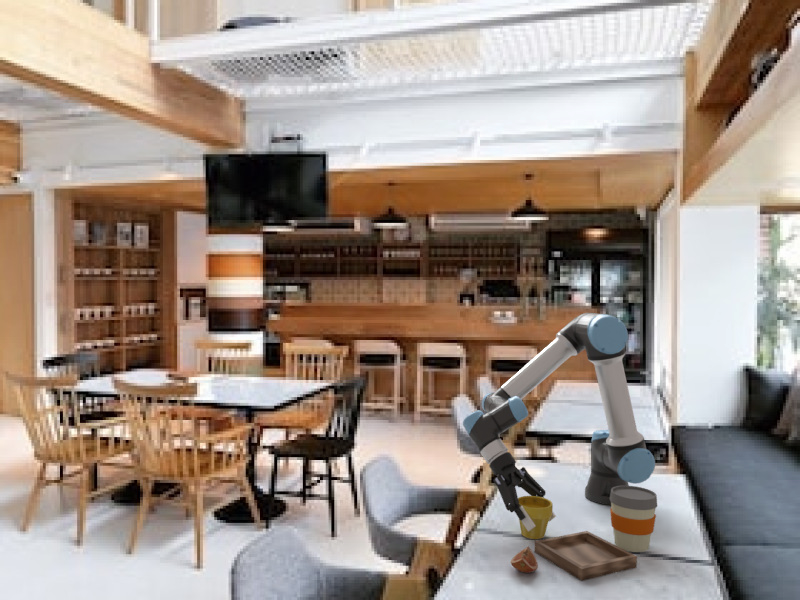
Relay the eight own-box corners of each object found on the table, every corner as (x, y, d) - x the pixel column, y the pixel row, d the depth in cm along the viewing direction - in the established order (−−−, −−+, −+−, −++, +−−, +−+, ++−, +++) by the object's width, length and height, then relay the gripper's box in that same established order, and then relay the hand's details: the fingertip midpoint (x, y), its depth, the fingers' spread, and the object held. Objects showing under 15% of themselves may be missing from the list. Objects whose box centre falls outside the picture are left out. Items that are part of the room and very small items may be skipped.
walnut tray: (586, 541, 186) (587, 530, 186) (636, 567, 169) (637, 556, 169) (534, 552, 178) (534, 541, 178) (581, 580, 161) (581, 568, 161)
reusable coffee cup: (632, 558, 175) (634, 502, 175) (598, 540, 186) (600, 488, 186) (665, 550, 181) (667, 496, 181) (630, 533, 192) (632, 483, 192)
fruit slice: (533, 580, 161) (534, 560, 161) (506, 575, 163) (507, 555, 163) (540, 567, 169) (540, 548, 168) (514, 562, 171) (514, 543, 171)
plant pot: (552, 543, 184) (553, 509, 183) (514, 540, 186) (515, 505, 185) (551, 530, 194) (552, 497, 193) (515, 526, 196) (516, 494, 195)
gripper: (512, 458, 208) (554, 520, 198) (468, 472, 191) (511, 541, 181) (527, 444, 204) (571, 507, 194) (483, 458, 187) (528, 527, 177)
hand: (542, 523), depth 187 cm, fingers closed on plant pot, 10 cm apart
